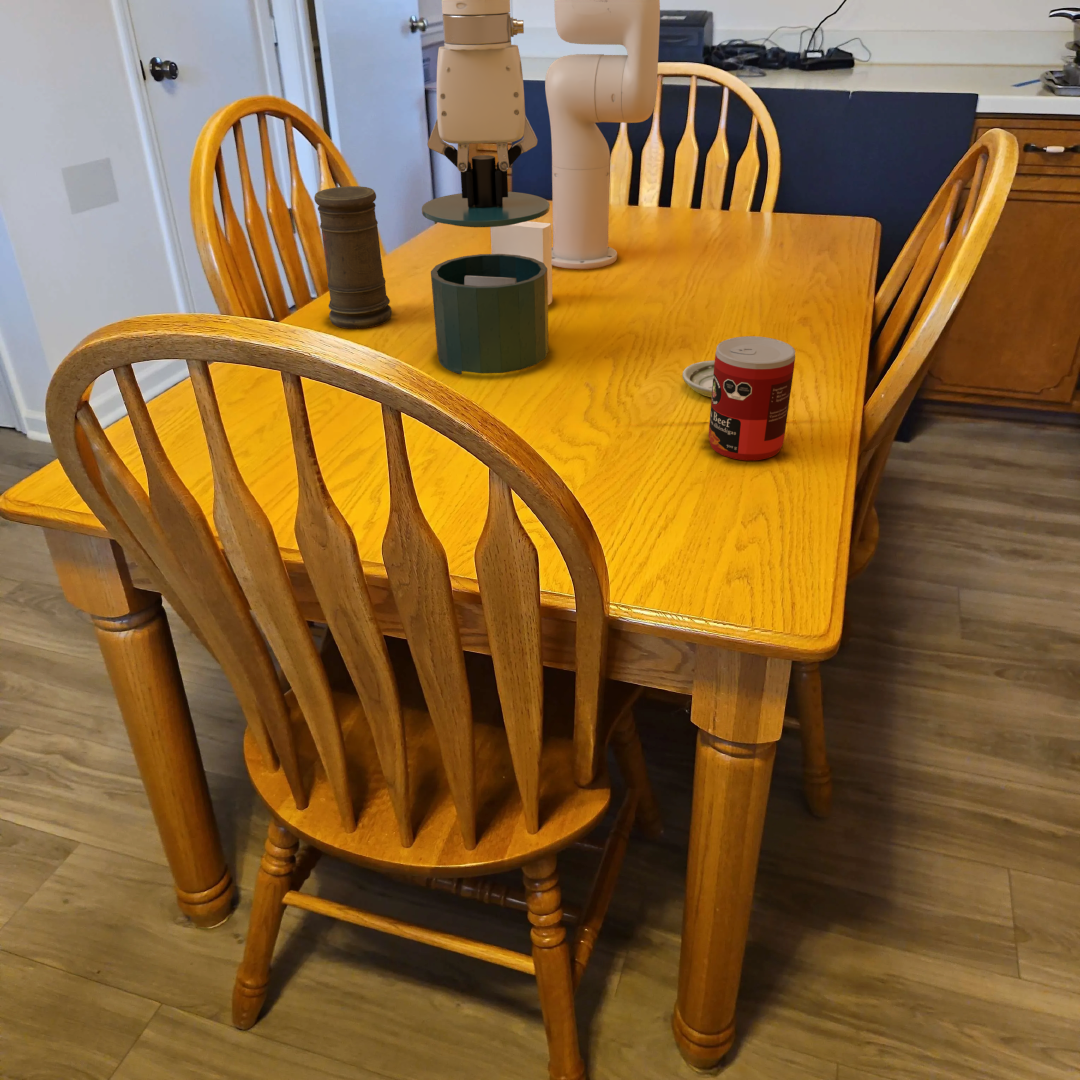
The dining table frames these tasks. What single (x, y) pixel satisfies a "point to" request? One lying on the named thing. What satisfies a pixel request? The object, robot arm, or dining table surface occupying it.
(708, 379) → the saucer
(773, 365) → the canned food
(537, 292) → the pot
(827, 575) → the dining table surface
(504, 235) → the base with upright slab
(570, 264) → the robot arm
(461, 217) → the lid
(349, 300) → the container
